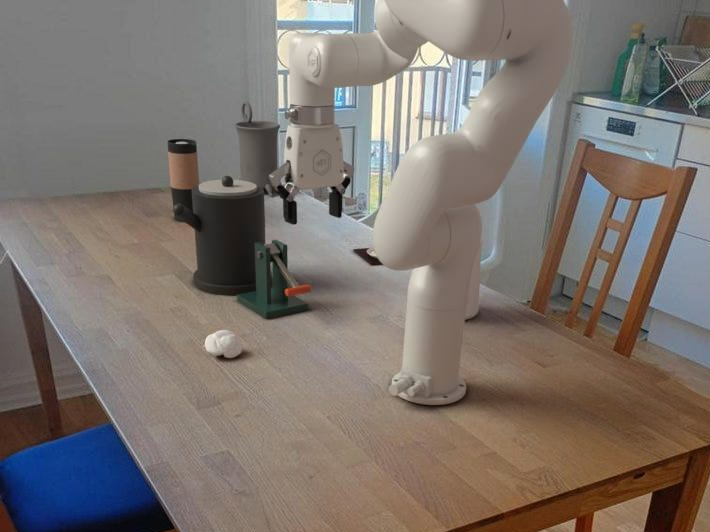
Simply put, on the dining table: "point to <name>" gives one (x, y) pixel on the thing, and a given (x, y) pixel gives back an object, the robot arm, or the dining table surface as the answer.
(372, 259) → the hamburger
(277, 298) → the switch bracket
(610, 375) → the dining table surface
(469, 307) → the coffeepot
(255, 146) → the grey canister
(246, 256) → the kettle
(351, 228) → the dining table surface
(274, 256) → the switch lever
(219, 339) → the dumpling
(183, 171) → the travel mug
